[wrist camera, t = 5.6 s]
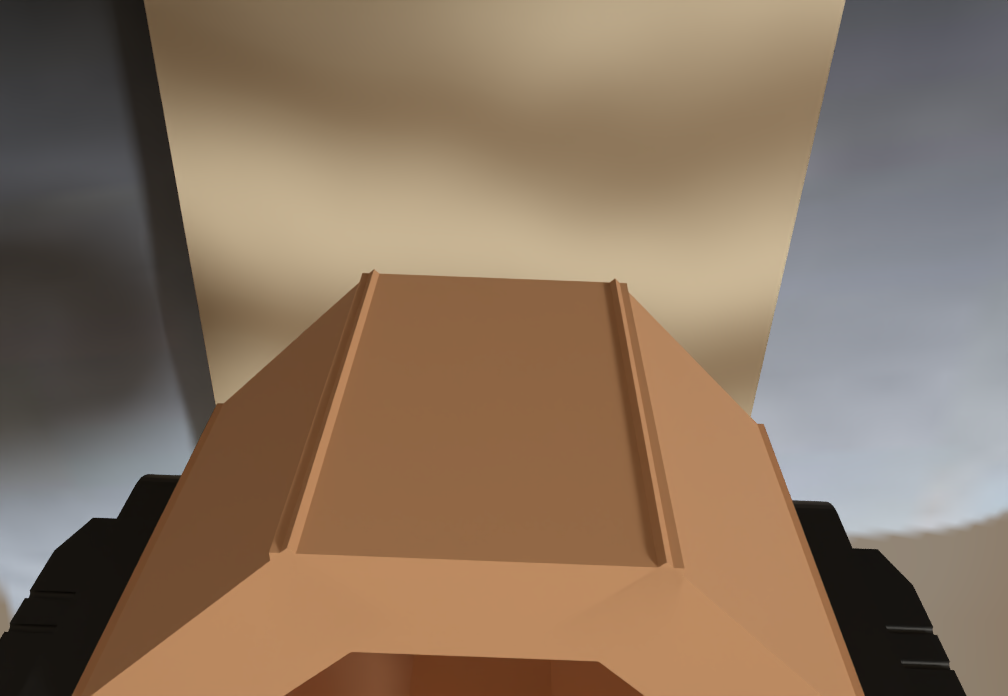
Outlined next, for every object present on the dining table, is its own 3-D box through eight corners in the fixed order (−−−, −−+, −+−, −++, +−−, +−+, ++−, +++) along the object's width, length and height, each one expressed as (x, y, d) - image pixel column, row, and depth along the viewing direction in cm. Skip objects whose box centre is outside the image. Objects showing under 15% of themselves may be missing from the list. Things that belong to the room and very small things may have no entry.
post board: (164, -39, 18) (-25, 50, 12) (822, -15, 19) (990, 85, 12) (259, 548, 28) (182, 780, 21) (699, 561, 28) (758, 794, 21)
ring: (186, 261, 9) (-9, 536, 6) (802, 285, 9) (961, 573, 6) (260, 659, 13) (165, 972, 9) (705, 675, 13) (770, 996, 9)
